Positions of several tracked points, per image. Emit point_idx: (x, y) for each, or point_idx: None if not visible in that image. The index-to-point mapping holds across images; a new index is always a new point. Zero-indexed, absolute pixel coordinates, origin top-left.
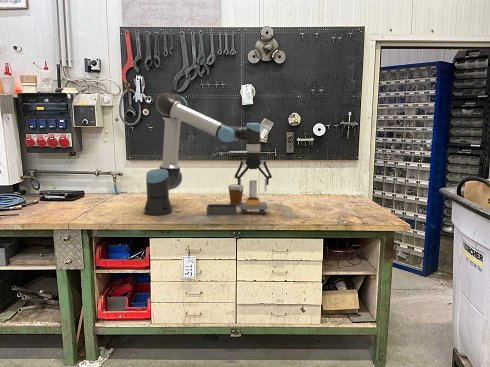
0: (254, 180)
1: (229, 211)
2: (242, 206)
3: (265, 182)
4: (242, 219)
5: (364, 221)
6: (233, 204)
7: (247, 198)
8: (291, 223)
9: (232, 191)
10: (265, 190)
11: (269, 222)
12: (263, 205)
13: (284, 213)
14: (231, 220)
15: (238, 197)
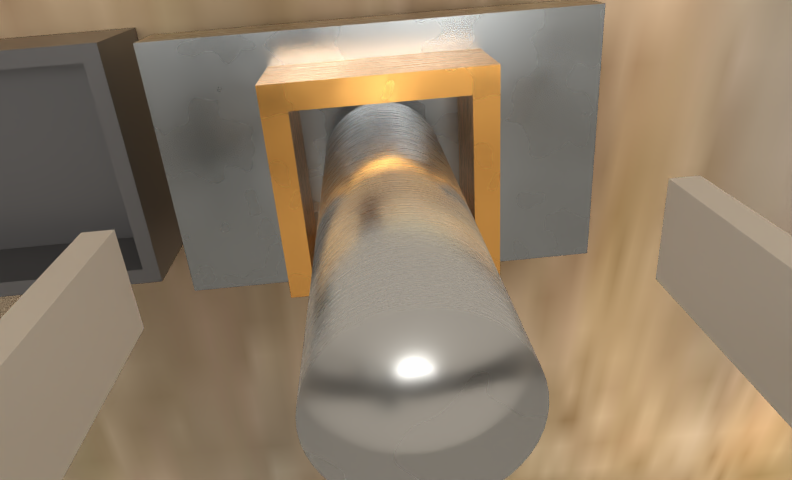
0: (474, 372)
1: None
2: (239, 281)
3: (785, 409)
4: (281, 389)
5: None
6: (52, 64)
7: (287, 172)
8: (712, 459)
9: None
10: (674, 288)
11: (533, 451)
12: (537, 232)
13: (772, 113)
14: (180, 428)
15: None
